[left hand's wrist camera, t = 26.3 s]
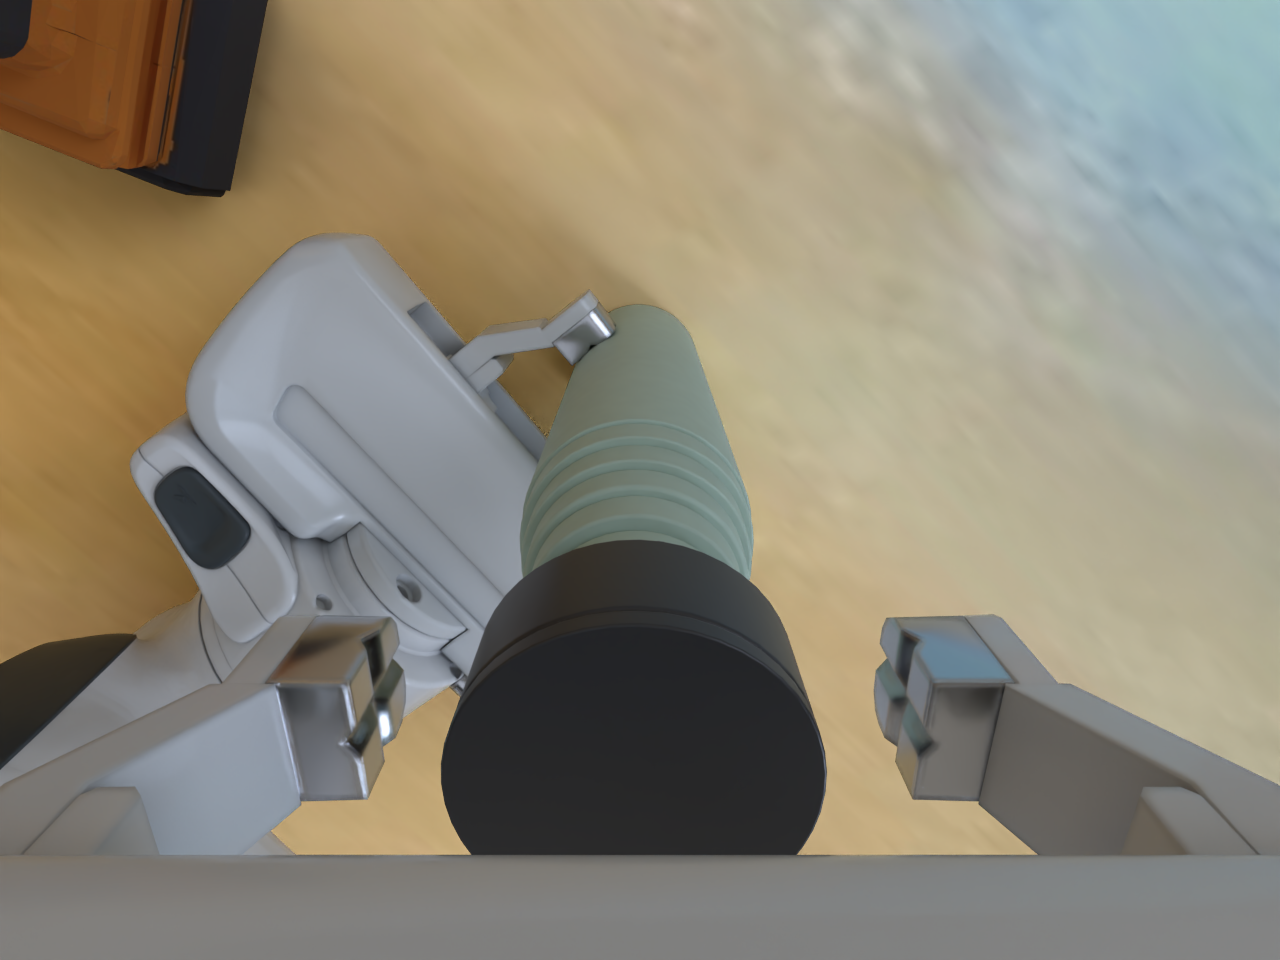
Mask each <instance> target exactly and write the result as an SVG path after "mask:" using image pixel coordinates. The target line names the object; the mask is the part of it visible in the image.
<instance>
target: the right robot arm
mask: <svg viewBox="0 0 1280 960" xmlns="http://www.w3.org/2000/svg"><path fill="white" fill-rule="evenodd" d="M615 327H616V324H615V322H614V321H613V319H612V318H611V317H610V315H609V314H608V313H607V311H606V310H605V309H604V307H603V306H602V305H601V303H600V302H598V299H597V298H596V297H595V296H594V294H593V293H592V292H591V291H590V289H589V290H587V291H585V292H584V293H582V294H581V295H580V296H579V297H577V298H576V299H575V300H574V301H572V302H571V303H570V304H569V305H567V306H566V307H565V308H564V309H563V310H561V311H560V312H559V313H558V314H556V315H555V316H554V317H553V318H551V319H550V320H549V321H548V320H547V319H546V318H542V319H534V320H527V321H519V322H511V323H504V324H496V325H489V326H488V327H487V328H486V329H485V330H483V331H482V332H481V333H480V334H479V335H477V336H476V337H475V338H474V339H472V340H471V341H470V342H469V343H468V344H466V343H465V342H464V341H463V340H462V338H461V337H460V336H459V335H458V334H457V333H456V331H455V330H454V329H453V328H452V327H451V326H450V324H449V323H448V322H447V321H446V320H445V319H444V317H443V316H442V315H441V314H440V313H439V312H438V310H437V309H436V308H435V307H434V306H433V305H432V303H431V302H430V301H429V300H428V299H427V298H426V296H425V295H424V294H423V293H422V292H421V291H420V289H419V288H418V287H417V286H416V285H415V284H414V283H413V281H412V280H411V279H410V278H409V277H408V276H407V274H406V273H405V272H404V271H403V270H402V269H401V267H400V266H399V265H398V264H397V263H396V262H395V260H394V259H393V258H392V257H391V256H390V254H389V253H388V252H387V251H386V250H385V249H384V247H383V246H382V245H381V244H380V243H379V242H378V241H377V240H376V239H374V238H373V237H371V236H368V235H362V234H352V233H323V234H318V235H314V236H311V237H308V238H305V239H303V240H301V241H299V242H298V243H296V244H295V245H293V246H292V247H291V248H289V249H288V250H287V251H286V252H285V253H284V254H283V255H282V256H280V257H279V258H278V259H277V260H276V261H275V262H274V263H273V264H272V265H271V266H270V267H269V268H268V269H267V270H266V271H265V272H264V273H263V275H262V276H261V277H260V278H259V279H258V280H257V281H256V282H255V283H254V284H253V285H252V286H251V287H250V289H249V290H248V291H247V292H246V293H245V294H244V295H243V296H242V298H241V299H240V300H239V301H238V302H237V304H236V305H235V306H234V307H233V308H232V310H231V311H230V312H229V313H228V315H227V316H226V317H225V318H224V320H223V321H222V322H221V323H220V325H219V326H218V327H217V329H216V330H215V331H214V333H213V334H212V336H211V337H210V338H209V340H208V341H207V342H206V344H205V345H204V347H203V348H202V350H201V351H200V353H199V354H198V356H197V357H196V359H195V361H194V363H193V365H192V368H191V370H190V373H189V376H188V380H187V384H186V392H185V401H186V408H187V412H186V413H184V414H183V415H181V416H180V417H178V418H176V419H175V420H173V421H172V422H170V423H169V424H167V425H166V426H164V427H163V428H162V429H161V430H159V431H158V432H157V433H155V434H154V435H153V436H152V437H150V438H149V439H148V440H147V441H145V442H144V443H143V444H142V445H141V446H140V447H139V448H138V449H137V450H136V451H135V452H134V454H133V455H132V457H131V460H130V471H131V474H132V477H133V480H134V482H135V483H136V485H137V487H138V489H139V490H140V492H141V493H142V495H143V497H144V498H145V500H146V501H147V503H148V504H149V506H150V507H151V509H152V510H153V512H154V513H155V515H156V516H157V518H158V519H159V521H160V522H161V524H162V525H163V527H164V529H165V530H166V532H167V533H168V535H169V536H170V538H171V540H172V541H173V543H174V545H175V546H176V548H177V549H178V551H179V553H180V555H181V556H182V558H183V560H184V561H185V563H186V565H187V567H188V568H189V570H190V572H191V574H192V576H193V578H194V580H195V582H196V584H197V585H198V587H199V590H198V592H197V593H196V595H195V596H194V597H193V599H192V600H191V601H189V602H187V603H184V604H181V605H178V606H176V607H173V608H171V609H169V610H167V611H165V612H163V613H161V614H159V615H157V616H156V617H154V618H152V619H151V620H150V621H148V622H147V623H146V624H144V625H143V626H142V627H140V628H139V629H138V630H137V631H136V632H134V633H133V634H104V635H95V636H89V637H82V638H76V639H69V640H62V641H56V642H50V643H45V644H42V645H40V646H37V647H35V648H32V649H30V650H28V651H26V652H23V653H21V654H19V655H17V656H15V657H13V658H11V659H9V660H7V661H5V662H3V663H2V664H0V787H1V786H2V785H3V784H4V783H6V782H8V781H10V780H12V779H14V778H16V777H18V776H20V775H23V774H25V773H27V772H29V771H31V770H33V769H35V768H37V767H39V766H41V765H43V764H45V763H47V762H49V761H51V760H53V759H56V758H58V757H60V756H62V755H64V754H66V753H68V752H70V751H72V750H74V749H76V748H78V747H80V746H82V745H84V744H87V743H89V742H91V741H93V740H95V739H97V738H99V737H101V736H103V735H105V734H107V733H109V732H111V731H113V730H115V729H117V728H120V727H122V726H124V725H126V724H128V723H130V722H132V721H134V720H136V719H138V718H140V717H142V716H144V715H146V714H148V713H151V712H153V711H155V710H157V709H159V708H161V707H163V706H165V705H167V704H169V703H171V702H173V701H175V700H177V699H179V698H182V697H184V696H186V695H188V694H190V693H192V692H194V691H196V690H198V689H200V688H202V687H204V686H206V685H208V684H222V683H223V681H224V680H225V679H226V678H227V677H228V676H229V674H230V673H231V672H232V671H233V670H234V669H235V667H236V666H237V665H238V664H239V663H240V662H241V661H242V659H243V658H244V657H245V656H246V655H247V654H248V652H249V651H250V650H251V649H252V648H253V647H254V645H255V644H256V643H257V642H258V641H259V640H260V639H261V637H262V636H263V635H264V634H265V633H266V632H267V630H268V629H269V628H270V627H271V626H272V625H273V623H274V622H275V621H276V620H277V619H278V618H279V617H282V616H286V615H319V616H322V615H337V616H388V617H392V618H393V619H394V621H395V622H396V623H397V628H398V634H399V639H400V645H399V647H398V649H397V651H396V652H395V654H394V656H393V659H394V660H395V661H396V662H397V663H398V664H399V665H400V666H401V667H402V669H403V670H404V674H405V681H406V704H405V709H404V714H403V718H404V717H405V716H407V715H408V714H410V713H411V712H413V711H414V710H415V709H417V708H419V707H420V706H421V705H423V704H424V703H426V702H427V701H429V700H430V699H432V698H433V697H435V696H436V695H437V694H439V693H440V692H442V691H443V690H445V689H446V688H448V687H450V688H451V689H452V690H453V691H454V692H455V693H456V694H457V695H458V696H459V697H461V694H462V692H463V689H464V686H465V683H466V680H467V678H468V675H469V672H470V669H471V666H472V664H473V661H474V658H475V655H476V652H477V650H478V647H479V644H480V641H481V638H482V636H483V633H484V630H485V627H486V625H487V623H488V621H489V619H490V618H491V616H492V614H493V612H494V610H495V609H496V607H497V606H498V605H499V603H500V602H501V601H502V599H503V598H504V596H505V595H506V594H507V593H508V592H509V591H510V590H511V589H512V588H513V587H514V586H515V585H516V584H517V583H518V582H519V581H520V580H521V579H523V575H522V567H521V552H520V529H521V522H522V516H523V506H524V502H525V498H526V494H527V491H528V488H529V486H530V483H531V480H532V478H533V475H534V472H535V470H536V467H537V464H538V462H539V459H540V457H541V454H542V451H543V449H544V446H545V443H546V441H547V437H546V436H545V435H544V434H543V433H542V432H541V430H540V429H539V428H538V427H537V426H536V425H535V423H534V422H533V421H532V420H531V419H530V418H529V416H528V415H527V414H526V413H525V412H524V411H523V409H522V408H521V407H520V406H519V405H518V404H517V402H516V401H515V400H514V399H513V398H512V397H511V395H510V394H509V393H508V392H507V391H506V390H505V389H504V387H503V386H502V385H501V384H500V383H499V382H498V380H497V378H498V377H499V376H501V375H502V374H503V373H504V371H505V370H506V369H507V367H508V366H509V365H510V363H511V362H512V361H513V359H514V355H513V354H512V353H518V352H524V351H531V350H537V349H544V348H550V347H554V346H555V347H556V348H557V349H558V350H559V351H560V352H561V354H562V355H563V356H564V357H565V358H566V360H567V361H568V362H569V363H570V364H571V365H573V364H575V363H576V362H577V361H579V360H580V359H581V358H583V357H584V356H585V355H586V354H587V353H588V351H589V348H590V345H598V344H600V343H601V342H603V341H604V340H606V339H607V338H608V337H609V336H610V335H611V334H612V333H613V332H614V331H615V329H616V328H615ZM242 855H296V854H295V853H294V852H293V851H292V850H290V849H289V848H288V847H287V846H286V845H285V844H284V843H283V842H282V841H281V840H280V839H279V838H278V837H277V836H276V835H274V834H273V833H272V832H271V831H270V832H268V833H267V834H266V835H265V836H264V837H262V838H261V839H260V840H259V841H258V842H257V843H255V844H254V845H253V846H252V847H251V848H249V849H248V850H247V851H246V852H245V853H244V854H242Z"/></svg>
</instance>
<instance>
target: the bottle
mask: <svg viewBox="0 0 1280 960" xmlns="http://www.w3.org/2000/svg"><path fill="white" fill-rule="evenodd" d="M608 314H609V315H610V317H611V318H612V319H613V321H614V322H615V324H616V327H615V328H616V329H615V331H614V332H613V333H612V334H611V335H610V336H609V337H608V338H607V339H606V340H604V341H603V342H601V343H600V344H598V345H590V348H589V351H588V353H587V354H586V355H585V356H584V357H583V358H581V359H580V360H579V361H577V362H576V365H575V367H574V370H573V372H572V375H571V378H570V380H569V383H568V386H567V388H566V391H565V393H564V396H563V399H562V401H561V404H560V407H559V409H558V412H557V414H556V417H555V420H554V422H553V425H552V428H551V430H550V433H549V436H548V438H547V441H546V443H545V446H544V449H543V451H542V454H541V457H540V459H539V462H538V464H537V467H536V470H535V472H534V475H533V478H532V480H531V483H530V486H529V488H528V491H527V494H526V498H525V502H524V506H523V516H522V522H521V529H520V552H521V567H522V575H523V578H524V577H525V576H527V575H528V574H529V573H530V572H532V571H533V570H534V569H536V568H538V567H539V566H541V565H543V564H544V563H546V562H548V561H550V560H551V559H553V558H555V557H558V556H560V555H562V554H565V553H567V552H570V551H572V550H574V549H577V548H581V547H585V546H589V545H592V544H596V543H603V542H609V541H616V540H651V541H663V542H667V543H672V544H677V545H681V546H685V547H688V548H691V549H694V550H697V551H700V552H703V553H705V554H707V555H709V556H711V557H713V558H715V559H717V560H720V561H722V562H724V563H725V564H727V565H728V566H730V567H731V568H733V569H734V570H736V571H738V572H739V573H741V574H742V575H743V576H744V577H745V578H747V579H748V580H750V575H751V564H752V554H753V542H754V540H753V527H752V522H751V509H750V504H749V500H748V495H747V493H746V490H745V487H744V484H743V481H742V478H741V476H740V473H739V470H738V467H737V464H736V461H735V459H734V456H733V453H732V450H731V447H730V444H729V442H728V439H727V436H726V433H725V430H724V427H723V425H722V422H721V419H720V416H719V413H718V410H717V408H716V405H715V402H714V399H713V396H712V393H711V391H710V388H709V385H708V382H707V379H706V376H705V374H704V371H703V368H702V365H701V362H700V359H699V357H698V354H697V351H696V348H695V345H694V343H693V340H692V338H691V336H690V334H689V332H688V331H687V329H686V328H685V326H684V325H683V324H682V323H681V322H680V321H679V320H678V319H677V318H675V317H674V316H673V315H671V314H670V313H668V312H667V311H664V310H662V309H660V308H657V307H654V306H649V305H628V306H624V307H620V308H618V309H615V310H613V311H611V312H609V313H608Z"/></svg>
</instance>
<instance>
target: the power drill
mask: <svg viewBox="0 0 1280 960" xmlns="http://www.w3.org/2000/svg"><path fill="white" fill-rule="evenodd" d="M267 1H268V0H0V129H2V130H5V131H7V132H10V133H12V134H15V135H18V136H20V137H23V138H25V139H28V140H30V141H33V142H35V143H38V144H40V145H43V146H45V147H48V148H51V149H53V150H56V151H58V152H61V153H63V154H66V155H68V156H71V157H73V158H76V159H78V160H81V161H84V162H86V163H89V164H91V165H94V166H96V167H99V168H103V169H116V170H119V171H121V172H124V173H126V174H129V175H131V176H134V177H136V178H139V179H141V180H144V181H147V182H149V183H152V184H154V185H157V186H159V187H162V188H164V189H167V190H171V191H174V192H178V193H181V194H185V195H197V196H212V197H221V196H223V195H224V193H225V191H226V190H227V191H230V189H231V184H232V179H233V174H234V169H235V163H236V158H237V153H238V148H239V143H240V138H241V133H242V128H243V123H244V118H245V113H246V108H247V102H248V97H249V92H250V87H251V82H252V77H253V72H254V67H255V62H256V57H257V52H258V47H259V42H260V36H261V31H262V26H263V21H264V16H265V11H266V6H267Z"/></svg>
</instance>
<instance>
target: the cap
mask: <svg viewBox="0 0 1280 960" xmlns="http://www.w3.org/2000/svg"><path fill="white" fill-rule="evenodd" d="M826 777H827V768H826V758H825V750H824V747H823V743H822V739H821V736H820V732H819V729H818V726H817V723H816V720H815V718H814V715H813V711H812V708H811V705H810V702H809V699H808V696H807V693H806V690H805V687H804V684H803V681H802V678H801V675H800V672H799V669H798V666H797V663H796V660H795V657H794V654H793V651H792V648H791V645H790V642H789V639H788V636H787V633H786V631H785V629H784V626H783V624H782V622H781V620H780V617H779V616H778V614H777V613H776V611H775V610H774V608H773V607H772V605H771V604H770V602H769V601H768V600H767V598H766V597H765V596H764V595H763V594H762V593H761V592H760V591H759V589H758V588H757V587H756V586H755V585H754V584H752V583H751V582H750V581H749V580H748V579H747V578H745V577H744V576H743V575H742V574H741V573H739V572H738V571H736V570H734V569H733V568H731V567H730V566H728V565H727V564H725V563H724V562H722V561H720V560H717V559H715V558H713V557H711V556H709V555H707V554H705V553H703V552H700V551H697V550H694V549H691V548H688V547H685V546H681V545H677V544H672V543H667V542H663V541H651V540H616V541H609V542H603V543H596V544H592V545H589V546H585V547H581V548H577V549H574V550H572V551H570V552H567V553H565V554H562V555H560V556H558V557H555V558H553V559H551V560H550V561H548V562H546V563H544V564H543V565H541V566H539V567H538V568H536V569H534V570H533V571H532V572H530V573H529V574H528V575H527V576H525V577H524V578H523V579H521V580H520V581H519V582H518V583H517V584H516V585H515V586H514V587H513V588H512V589H511V590H510V591H509V592H508V593H507V594H506V595H505V596H504V598H503V599H502V601H501V602H500V603H499V605H498V606H497V607H496V609H495V610H494V612H493V614H492V616H491V618H490V619H489V621H488V623H487V625H486V627H485V630H484V633H483V636H482V638H481V641H480V644H479V647H478V650H477V652H476V655H475V658H474V661H473V664H472V666H471V669H470V672H469V675H468V678H467V680H466V683H465V686H464V689H463V692H462V694H461V697H460V700H459V703H458V706H457V709H456V711H455V714H454V717H453V719H452V722H451V725H450V728H449V731H448V734H447V737H446V740H445V743H444V748H443V754H442V760H441V785H442V790H443V796H444V802H445V806H446V808H447V811H448V814H449V817H450V820H451V823H452V825H453V826H454V828H455V830H456V832H457V834H458V836H459V838H460V839H461V841H462V842H463V844H464V845H465V846H466V848H467V849H468V851H469V852H470V853H471V855H797V854H798V852H799V851H800V850H801V849H802V847H803V846H804V844H805V843H806V841H807V839H808V838H809V836H810V834H811V833H812V831H813V829H814V827H815V824H816V822H817V819H818V817H819V815H820V812H821V808H822V804H823V800H824V796H825V791H826Z"/></svg>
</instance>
